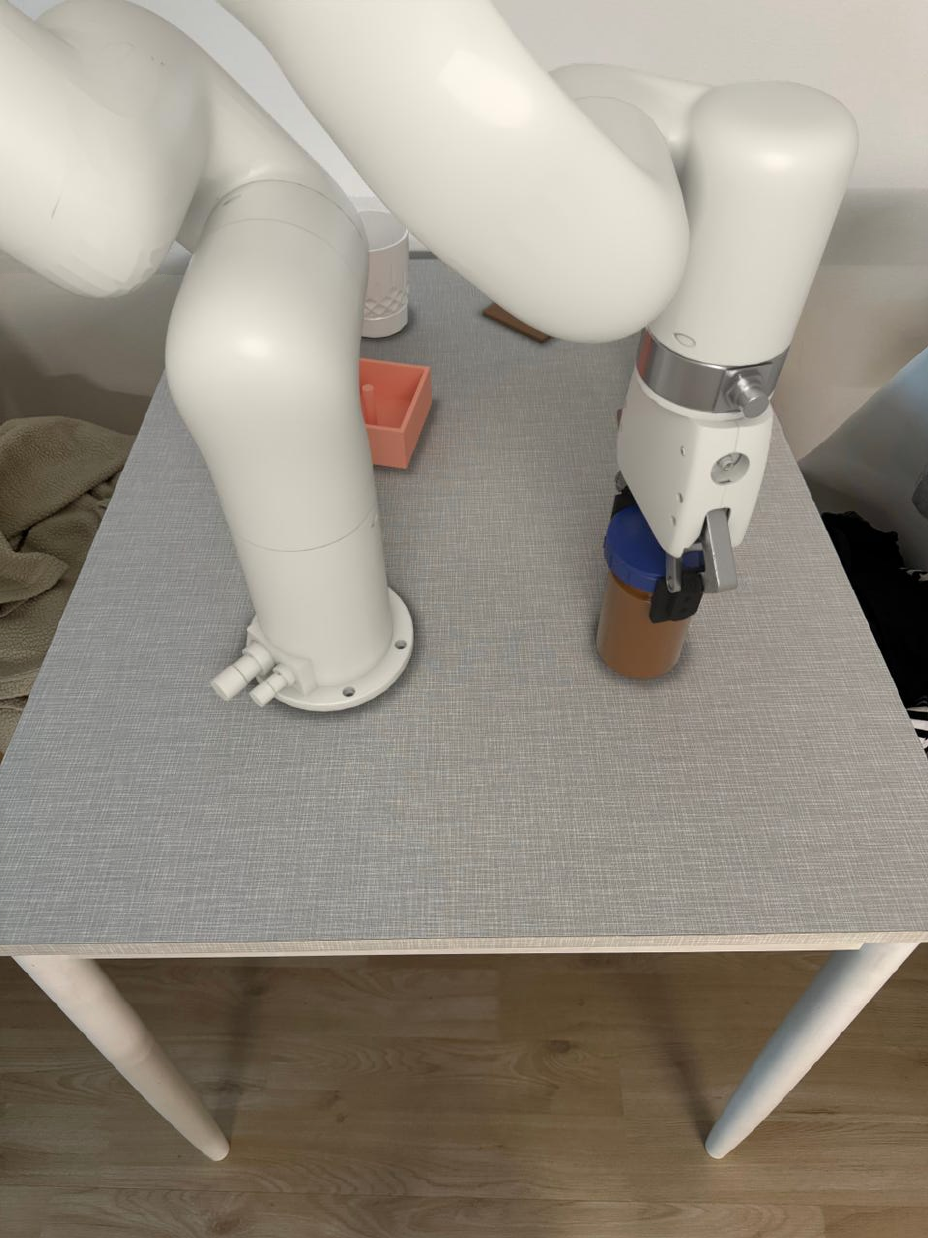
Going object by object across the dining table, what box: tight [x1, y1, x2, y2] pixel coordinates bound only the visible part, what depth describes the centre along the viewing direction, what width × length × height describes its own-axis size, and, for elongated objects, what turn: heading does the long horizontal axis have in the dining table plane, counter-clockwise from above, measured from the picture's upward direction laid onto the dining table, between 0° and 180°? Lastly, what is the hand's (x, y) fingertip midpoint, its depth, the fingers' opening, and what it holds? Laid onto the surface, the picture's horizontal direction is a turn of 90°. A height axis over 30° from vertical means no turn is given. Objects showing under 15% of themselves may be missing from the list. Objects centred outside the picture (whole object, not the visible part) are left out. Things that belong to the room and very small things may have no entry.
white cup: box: [357, 209, 410, 339], centre depth 89 cm, size 8×8×10 cm
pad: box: [482, 302, 552, 344], centre depth 94 cm, size 8×8×1 cm
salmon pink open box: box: [359, 357, 433, 470], centre depth 79 cm, size 18×10×10 cm, turn 77°
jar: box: [595, 567, 693, 680], centre depth 63 cm, size 6×6×10 cm
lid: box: [602, 504, 699, 593], centre depth 58 cm, size 7×7×2 cm
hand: (649, 572), depth 60 cm, fingers closed on lid, 7 cm apart
